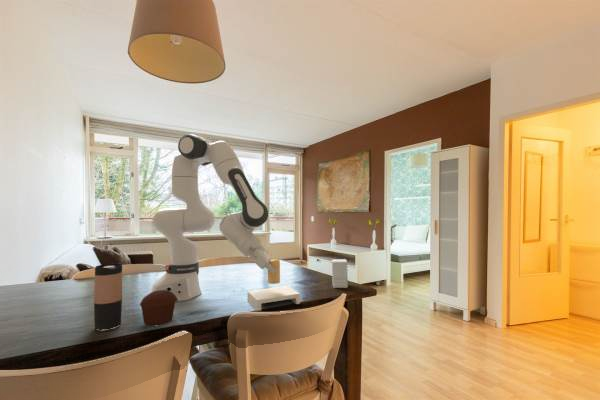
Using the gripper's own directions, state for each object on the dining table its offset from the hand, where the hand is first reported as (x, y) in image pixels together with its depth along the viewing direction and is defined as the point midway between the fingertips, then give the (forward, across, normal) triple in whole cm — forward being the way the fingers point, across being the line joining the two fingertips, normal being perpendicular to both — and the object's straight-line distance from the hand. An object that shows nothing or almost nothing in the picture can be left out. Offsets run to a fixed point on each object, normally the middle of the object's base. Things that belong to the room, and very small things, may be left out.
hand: (275, 270), depth 116 cm
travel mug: (-29, -19, +48) cm, 59 cm away
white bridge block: (+9, 0, +10) cm, 13 cm away
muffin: (-18, -16, +38) cm, 45 cm away
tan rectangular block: (+3, 0, +4) cm, 5 cm away
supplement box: (+31, +22, -13) cm, 40 cm away
